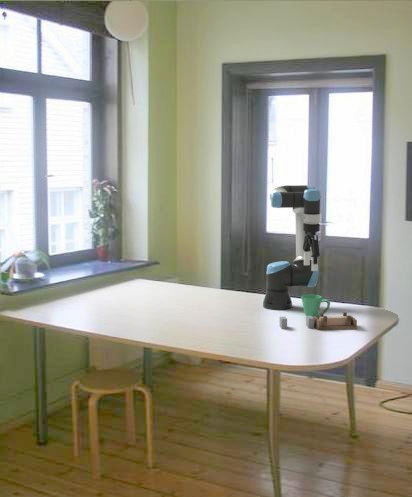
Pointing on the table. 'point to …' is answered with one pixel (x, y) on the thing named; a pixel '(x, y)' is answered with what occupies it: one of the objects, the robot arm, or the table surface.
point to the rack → (350, 325)
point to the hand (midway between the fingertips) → (310, 268)
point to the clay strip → (335, 320)
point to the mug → (313, 304)
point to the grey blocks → (308, 322)
